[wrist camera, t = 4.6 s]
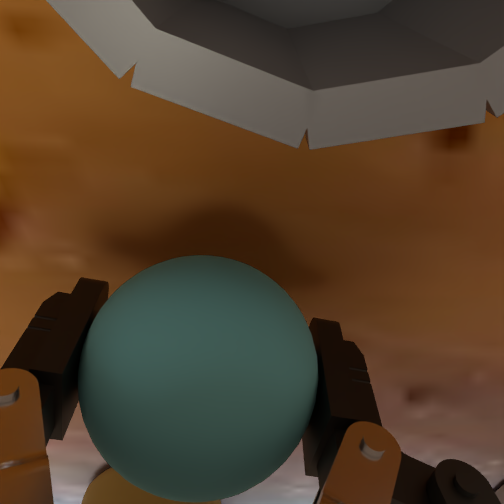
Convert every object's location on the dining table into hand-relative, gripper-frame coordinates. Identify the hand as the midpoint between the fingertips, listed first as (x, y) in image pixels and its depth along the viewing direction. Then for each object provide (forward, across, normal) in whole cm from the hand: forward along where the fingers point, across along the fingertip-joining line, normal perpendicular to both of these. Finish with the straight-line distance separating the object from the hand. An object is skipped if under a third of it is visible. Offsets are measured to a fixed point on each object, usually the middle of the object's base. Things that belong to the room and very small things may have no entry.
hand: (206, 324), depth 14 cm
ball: (-2, 0, 0) cm, 2 cm away
